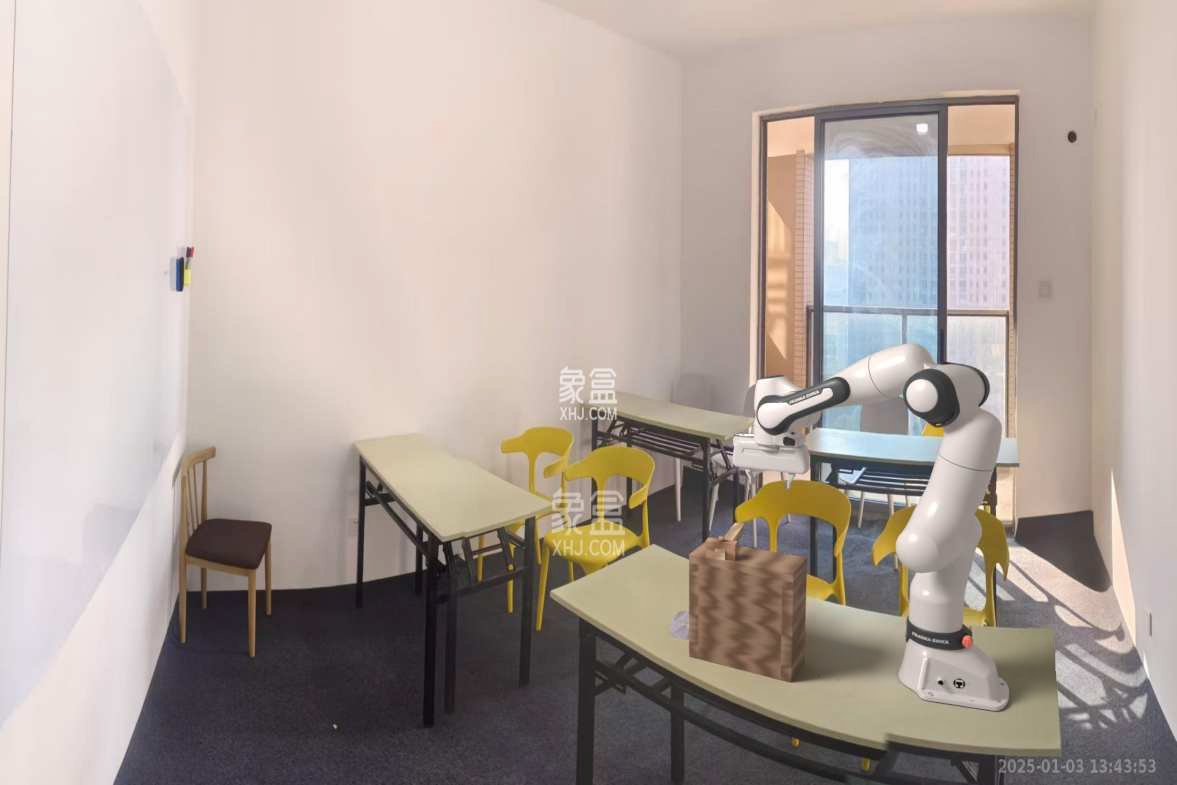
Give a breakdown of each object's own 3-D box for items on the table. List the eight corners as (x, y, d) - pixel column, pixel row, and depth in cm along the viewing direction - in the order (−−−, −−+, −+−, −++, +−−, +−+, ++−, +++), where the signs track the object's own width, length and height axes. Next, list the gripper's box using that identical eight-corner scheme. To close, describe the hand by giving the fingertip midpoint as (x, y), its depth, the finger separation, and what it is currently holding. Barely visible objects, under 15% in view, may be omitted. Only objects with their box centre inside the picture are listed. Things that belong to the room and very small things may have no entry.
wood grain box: (804, 661, 186) (807, 557, 182) (790, 682, 177) (793, 573, 173) (706, 637, 199) (706, 540, 195) (689, 656, 190) (689, 554, 186)
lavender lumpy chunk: (668, 644, 200) (706, 642, 196) (664, 626, 200) (702, 624, 196) (679, 626, 211) (715, 624, 207) (676, 608, 211) (712, 606, 207)
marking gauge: (753, 533, 199) (753, 514, 198) (734, 561, 181) (734, 540, 180) (726, 530, 202) (726, 511, 201) (705, 557, 184) (705, 537, 183)
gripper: (729, 434, 209) (728, 484, 211) (805, 441, 198) (804, 494, 201) (737, 429, 214) (736, 478, 216) (812, 436, 204) (810, 487, 206)
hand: (769, 486), depth 208 cm, fingers open, 8 cm apart
